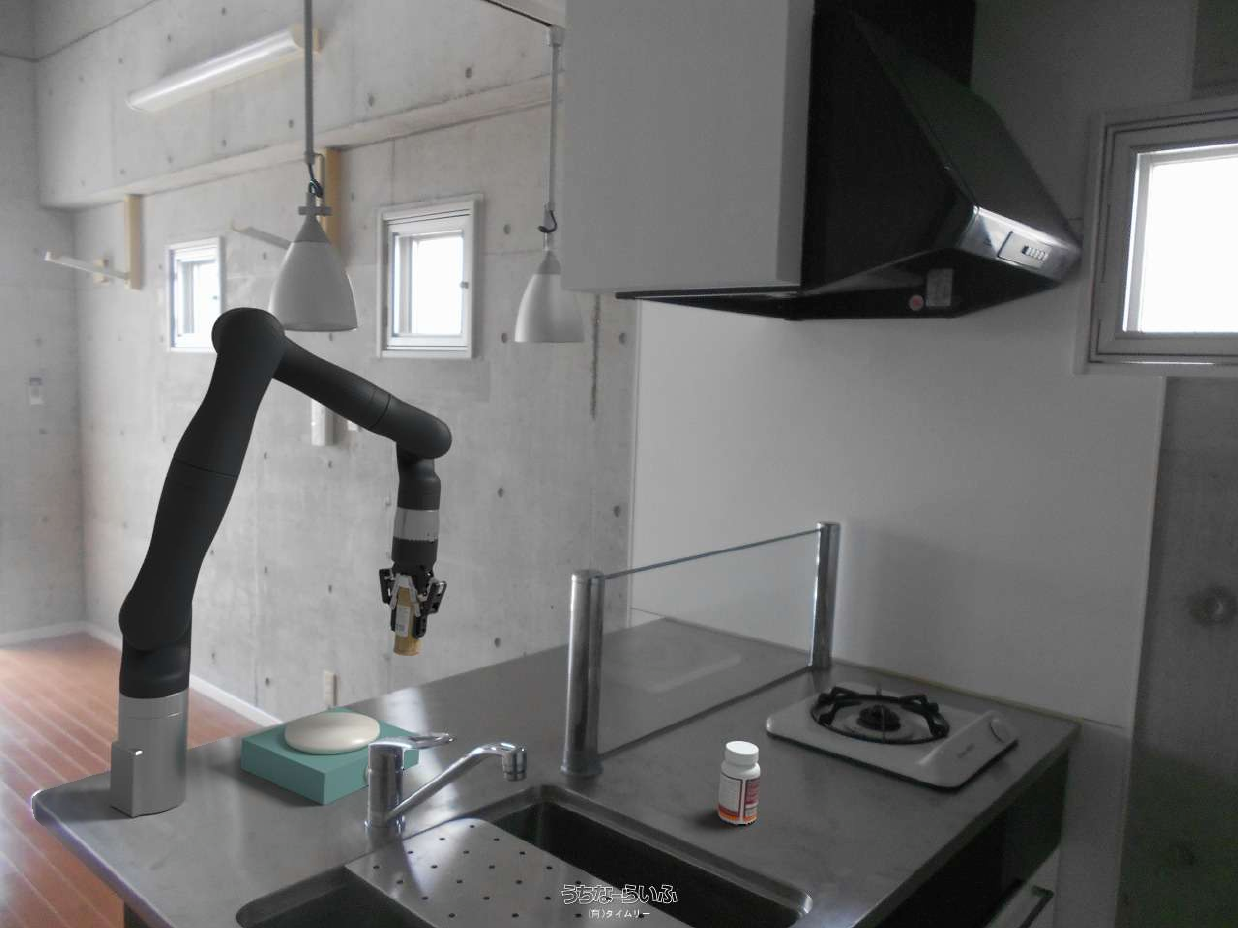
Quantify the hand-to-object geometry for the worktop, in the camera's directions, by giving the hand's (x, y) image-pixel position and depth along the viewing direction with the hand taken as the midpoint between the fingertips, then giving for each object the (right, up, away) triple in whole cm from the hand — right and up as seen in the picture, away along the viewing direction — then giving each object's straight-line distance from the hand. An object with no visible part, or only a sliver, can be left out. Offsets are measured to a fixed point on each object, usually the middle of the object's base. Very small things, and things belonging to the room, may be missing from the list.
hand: (407, 633), depth 153 cm
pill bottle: (+54, -27, -11) cm, 62 cm away
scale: (-12, -22, -2) cm, 25 cm away
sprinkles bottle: (0, -4, 0) cm, 3 cm away
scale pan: (-12, -16, -3) cm, 20 cm away
